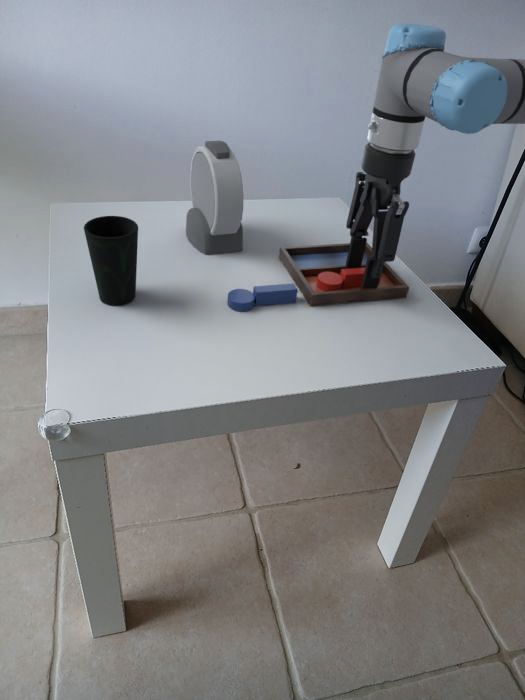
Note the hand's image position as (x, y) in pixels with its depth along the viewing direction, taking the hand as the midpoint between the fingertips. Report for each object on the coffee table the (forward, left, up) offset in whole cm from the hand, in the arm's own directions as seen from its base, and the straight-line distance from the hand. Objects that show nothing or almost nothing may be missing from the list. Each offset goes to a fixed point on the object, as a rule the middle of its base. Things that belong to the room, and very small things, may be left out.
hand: (359, 281), depth 92 cm
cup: (+28, +30, -1) cm, 41 cm away
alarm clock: (+30, +3, -1) cm, 30 cm away
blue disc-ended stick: (+10, +16, -1) cm, 19 cm away
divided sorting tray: (+4, -1, -1) cm, 5 cm away
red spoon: (+2, +2, 0) cm, 3 cm away
